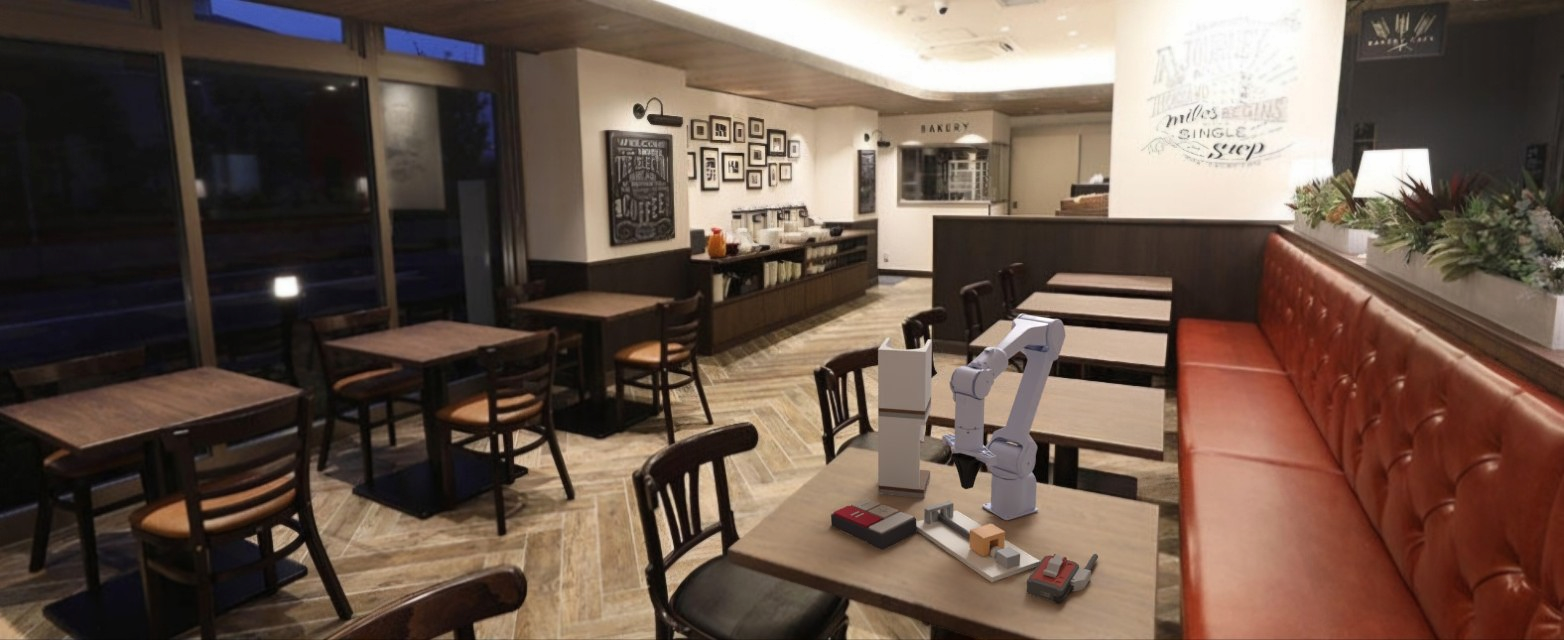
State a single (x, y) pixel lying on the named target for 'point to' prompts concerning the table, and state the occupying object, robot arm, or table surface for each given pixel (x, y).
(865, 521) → the calculator
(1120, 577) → the table surface
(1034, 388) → the robot arm
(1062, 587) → the walkie-talkie
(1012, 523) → the table surface
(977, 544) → the orange block
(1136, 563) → the table surface
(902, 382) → the white box tower
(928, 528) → the board
